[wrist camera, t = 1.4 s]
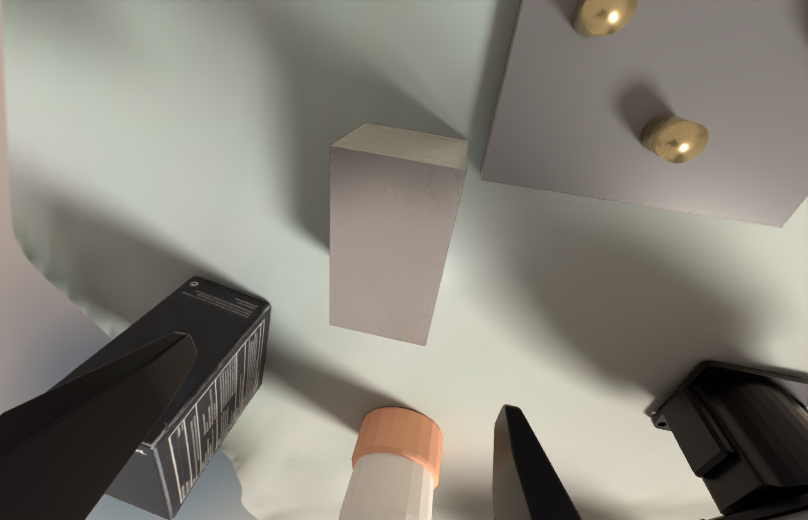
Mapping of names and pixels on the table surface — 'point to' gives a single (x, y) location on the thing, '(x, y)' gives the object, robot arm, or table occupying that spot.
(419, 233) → the block
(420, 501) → the pepper shaker
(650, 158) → the pin tray
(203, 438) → the small box
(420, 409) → the table surface
